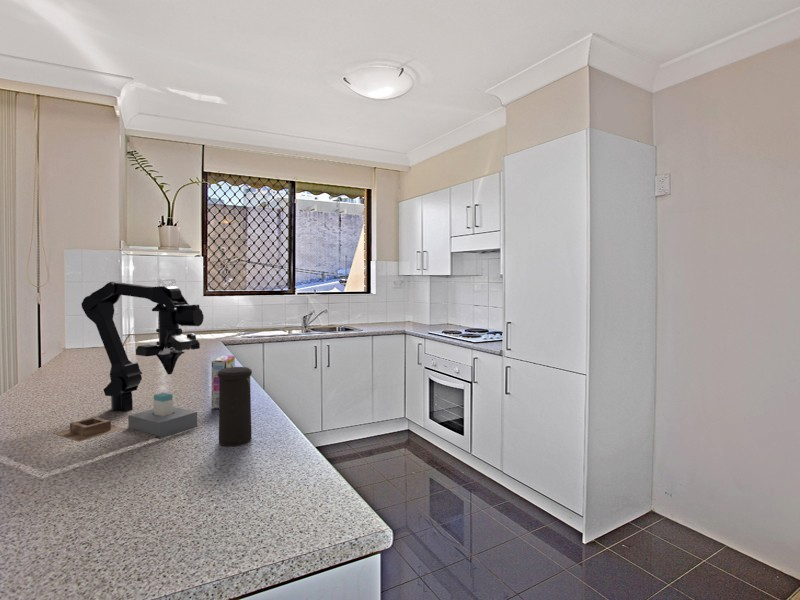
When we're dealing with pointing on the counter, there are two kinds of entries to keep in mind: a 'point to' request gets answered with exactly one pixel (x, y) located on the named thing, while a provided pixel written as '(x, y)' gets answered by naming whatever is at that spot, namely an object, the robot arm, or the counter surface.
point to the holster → (89, 429)
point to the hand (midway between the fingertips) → (169, 374)
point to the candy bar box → (217, 366)
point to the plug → (163, 404)
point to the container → (234, 406)
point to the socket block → (163, 422)
